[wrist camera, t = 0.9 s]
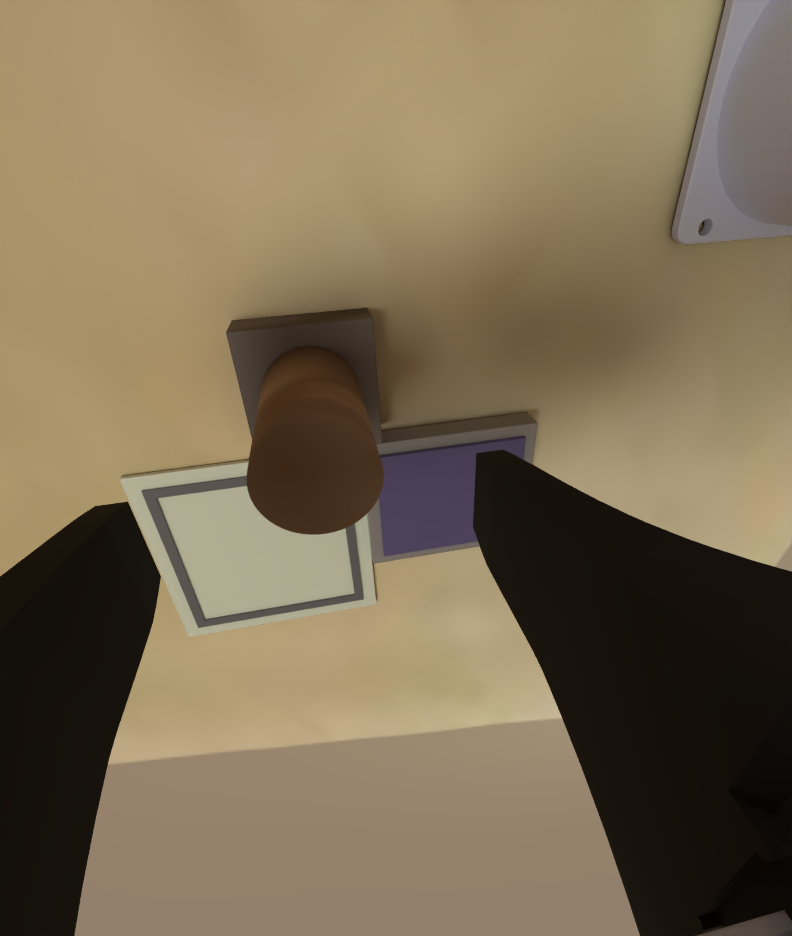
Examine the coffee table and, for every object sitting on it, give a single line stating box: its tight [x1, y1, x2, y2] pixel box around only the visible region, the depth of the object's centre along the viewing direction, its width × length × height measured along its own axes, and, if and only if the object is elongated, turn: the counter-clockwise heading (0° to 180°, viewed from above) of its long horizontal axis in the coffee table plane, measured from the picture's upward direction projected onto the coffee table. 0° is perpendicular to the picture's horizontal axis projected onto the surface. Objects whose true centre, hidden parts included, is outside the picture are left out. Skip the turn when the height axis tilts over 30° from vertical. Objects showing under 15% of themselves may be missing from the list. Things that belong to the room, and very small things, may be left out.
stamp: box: [226, 308, 384, 535], centre depth 14 cm, size 4×4×7 cm
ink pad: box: [367, 412, 537, 564], centre depth 20 cm, size 7×6×1 cm
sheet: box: [120, 460, 376, 637], centre depth 20 cm, size 9×9×1 cm
